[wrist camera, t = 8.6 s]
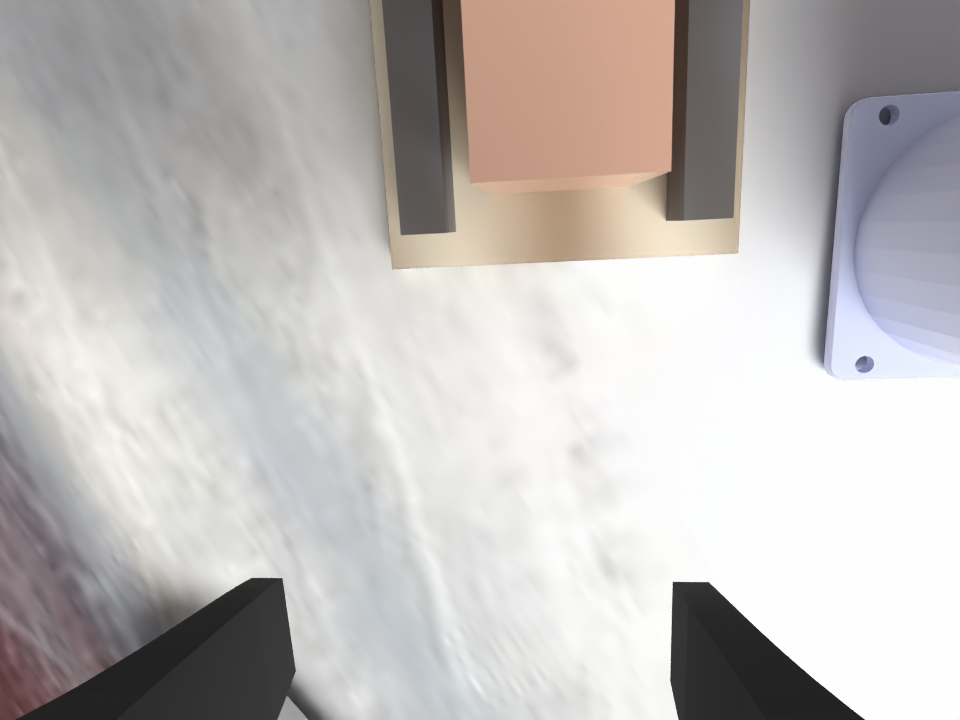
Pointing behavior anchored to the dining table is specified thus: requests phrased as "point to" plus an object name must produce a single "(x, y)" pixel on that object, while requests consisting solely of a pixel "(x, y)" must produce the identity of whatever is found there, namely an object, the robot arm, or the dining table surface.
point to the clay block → (568, 93)
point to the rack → (566, 213)
